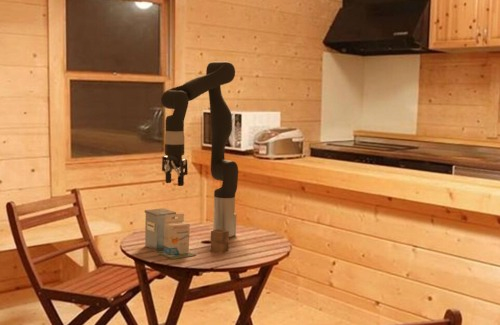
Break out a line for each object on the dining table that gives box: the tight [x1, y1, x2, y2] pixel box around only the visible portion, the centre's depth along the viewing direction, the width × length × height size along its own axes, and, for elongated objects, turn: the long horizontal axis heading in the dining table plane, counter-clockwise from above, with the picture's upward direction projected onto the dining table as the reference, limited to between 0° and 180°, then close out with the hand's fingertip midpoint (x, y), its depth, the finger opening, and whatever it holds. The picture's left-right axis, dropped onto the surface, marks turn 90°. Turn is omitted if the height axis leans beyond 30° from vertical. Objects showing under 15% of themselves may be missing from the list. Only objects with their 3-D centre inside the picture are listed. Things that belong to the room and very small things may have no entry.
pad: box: [155, 250, 196, 260], centre depth 222 cm, size 10×12×1 cm
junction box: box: [144, 207, 177, 252], centre depth 231 cm, size 9×10×15 cm
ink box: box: [164, 213, 191, 255], centre depth 221 cm, size 8×5×15 cm, turn 125°
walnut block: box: [210, 229, 230, 254], centre depth 229 cm, size 5×5×8 cm
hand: (174, 184), depth 225 cm, fingers open, 8 cm apart
